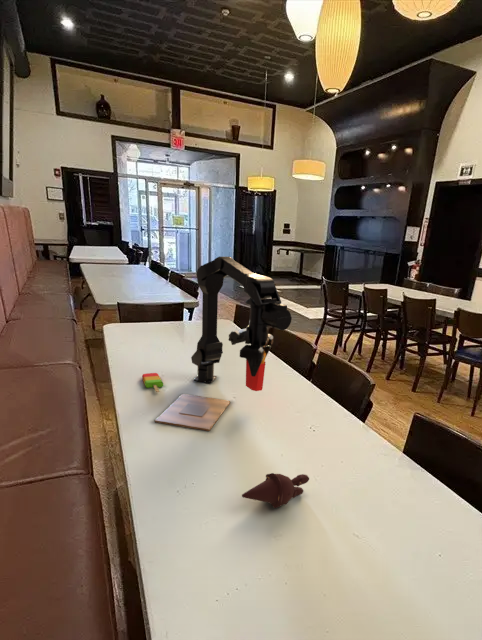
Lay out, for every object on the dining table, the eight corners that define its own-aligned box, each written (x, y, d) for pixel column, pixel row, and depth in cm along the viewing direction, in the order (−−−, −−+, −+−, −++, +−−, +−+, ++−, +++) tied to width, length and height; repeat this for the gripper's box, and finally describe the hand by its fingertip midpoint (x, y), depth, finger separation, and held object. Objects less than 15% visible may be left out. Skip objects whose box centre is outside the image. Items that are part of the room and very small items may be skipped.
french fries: (242, 383, 129) (244, 346, 125) (253, 381, 131) (255, 345, 127) (255, 393, 123) (258, 354, 118) (267, 391, 125) (270, 353, 120)
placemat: (182, 395, 133) (182, 393, 133) (230, 402, 131) (230, 400, 131) (154, 422, 115) (154, 420, 115) (209, 431, 113) (209, 429, 112)
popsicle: (157, 377, 146) (157, 372, 146) (166, 393, 134) (166, 388, 133) (141, 378, 144) (141, 373, 143) (149, 395, 131) (148, 389, 131)
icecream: (253, 498, 77) (319, 486, 84) (239, 469, 82) (302, 460, 89) (244, 522, 80) (309, 509, 88) (232, 493, 86) (293, 482, 93)
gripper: (240, 312, 129) (238, 359, 135) (222, 326, 112) (221, 379, 118) (275, 316, 128) (271, 364, 133) (262, 331, 110) (258, 384, 116)
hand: (255, 372), depth 125 cm, fingers closed on french fries, 6 cm apart
